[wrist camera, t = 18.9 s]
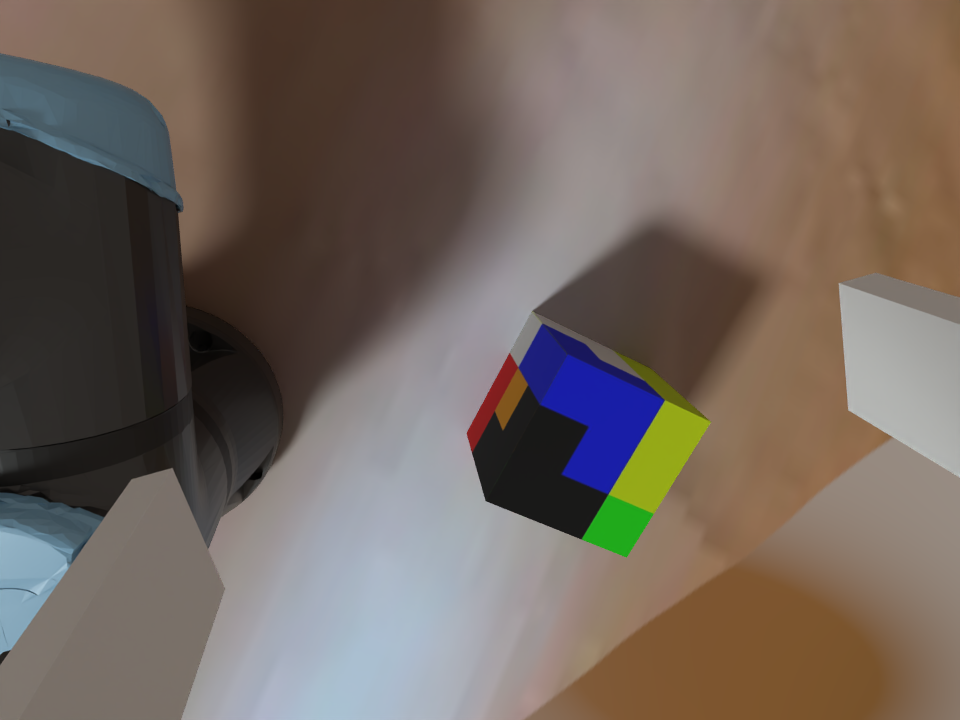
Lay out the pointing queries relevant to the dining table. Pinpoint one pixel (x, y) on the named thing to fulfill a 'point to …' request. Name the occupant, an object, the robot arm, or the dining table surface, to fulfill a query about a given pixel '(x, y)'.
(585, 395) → the puzzle toy
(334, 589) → the dining table surface
